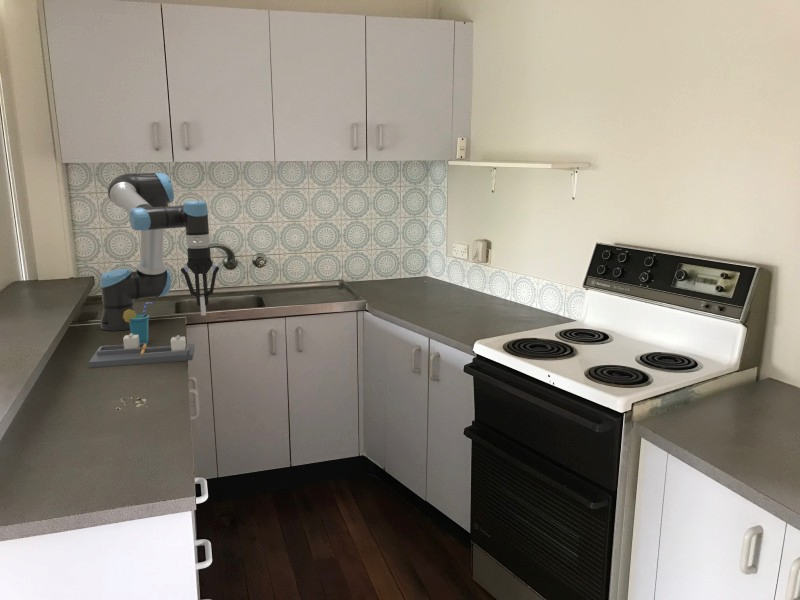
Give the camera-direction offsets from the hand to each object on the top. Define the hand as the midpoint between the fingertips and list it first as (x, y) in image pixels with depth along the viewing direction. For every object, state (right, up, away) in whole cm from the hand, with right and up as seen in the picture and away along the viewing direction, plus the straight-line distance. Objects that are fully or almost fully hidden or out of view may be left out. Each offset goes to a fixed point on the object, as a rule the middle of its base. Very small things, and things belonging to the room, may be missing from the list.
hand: (203, 314), depth 233 cm
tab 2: (-9, -13, +1) cm, 16 cm away
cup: (-29, -12, +20) cm, 37 cm away
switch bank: (-21, -15, +2) cm, 26 cm away
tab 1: (-26, -13, +4) cm, 29 cm away
